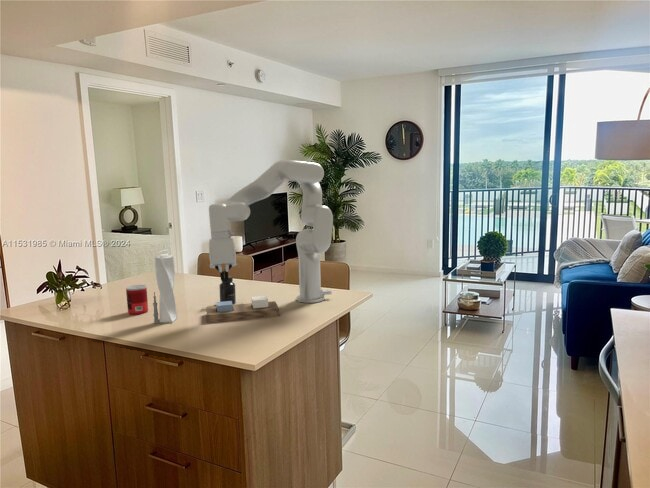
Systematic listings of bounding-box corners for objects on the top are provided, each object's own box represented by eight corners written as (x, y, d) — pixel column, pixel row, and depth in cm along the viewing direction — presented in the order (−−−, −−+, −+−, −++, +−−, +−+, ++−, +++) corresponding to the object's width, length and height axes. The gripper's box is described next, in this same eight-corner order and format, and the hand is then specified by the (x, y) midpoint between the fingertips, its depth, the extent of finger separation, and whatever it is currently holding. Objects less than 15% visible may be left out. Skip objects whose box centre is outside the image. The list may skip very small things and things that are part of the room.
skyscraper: (161, 318, 192) (156, 249, 188) (181, 317, 192) (176, 248, 188) (153, 324, 183) (148, 252, 179) (174, 324, 183) (169, 252, 179)
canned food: (152, 310, 202) (150, 285, 201) (139, 315, 195) (137, 289, 193) (137, 309, 205) (135, 284, 203) (124, 314, 197) (121, 288, 196)
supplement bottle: (232, 306, 206) (231, 278, 205) (217, 305, 208) (216, 278, 206) (238, 301, 213) (237, 275, 211) (224, 301, 214) (222, 275, 213)
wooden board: (275, 308, 201) (275, 301, 201) (279, 316, 190) (279, 308, 189) (207, 314, 195) (206, 307, 194) (207, 322, 183) (206, 315, 183)
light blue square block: (232, 308, 194) (231, 300, 193) (232, 312, 188) (232, 304, 188) (217, 309, 192) (216, 302, 192) (217, 313, 187) (216, 305, 186)
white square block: (266, 303, 197) (266, 295, 197) (268, 307, 191) (268, 299, 191) (251, 304, 196) (251, 297, 195) (253, 308, 190) (252, 300, 189)
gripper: (239, 232, 191) (243, 277, 194) (201, 235, 188) (205, 281, 191) (241, 235, 184) (244, 281, 187) (201, 238, 181) (205, 285, 184)
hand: (224, 281), depth 189 cm, fingers closed
